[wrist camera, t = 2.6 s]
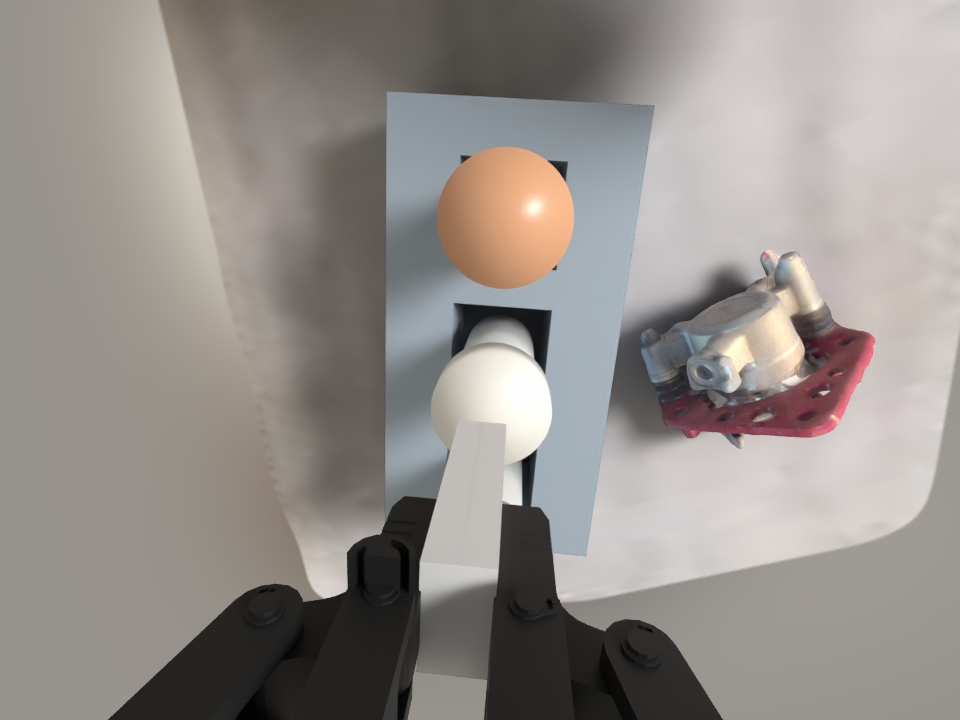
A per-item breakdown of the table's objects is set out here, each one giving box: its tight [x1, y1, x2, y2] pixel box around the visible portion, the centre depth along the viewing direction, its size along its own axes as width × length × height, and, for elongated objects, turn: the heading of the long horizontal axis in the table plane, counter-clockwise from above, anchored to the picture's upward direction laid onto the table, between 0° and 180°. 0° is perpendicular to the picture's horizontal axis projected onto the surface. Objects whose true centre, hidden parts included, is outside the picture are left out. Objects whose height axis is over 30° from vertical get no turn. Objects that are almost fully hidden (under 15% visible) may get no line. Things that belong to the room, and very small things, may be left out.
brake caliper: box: [640, 250, 875, 449], centre depth 29 cm, size 11×11×12 cm
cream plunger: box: [431, 315, 552, 465], centre depth 23 cm, size 5×5×9 cm
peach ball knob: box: [437, 147, 574, 289], centre depth 21 cm, size 5×5×9 cm
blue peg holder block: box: [385, 91, 654, 557], centre depth 30 cm, size 24×12×7 cm, turn 176°
